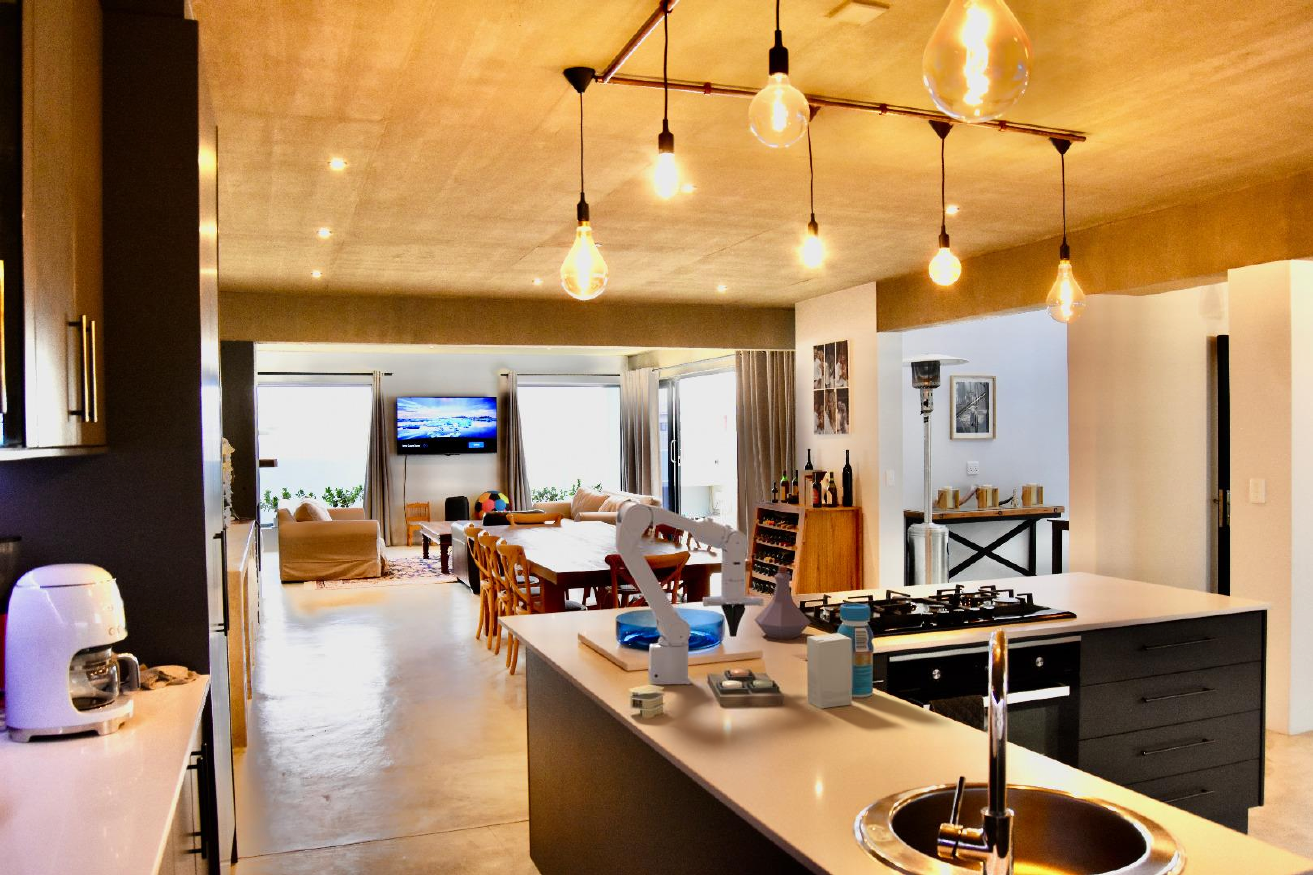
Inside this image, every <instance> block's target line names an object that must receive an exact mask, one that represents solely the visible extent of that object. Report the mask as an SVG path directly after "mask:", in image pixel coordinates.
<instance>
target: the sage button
mask: <svg viewBox="0 0 1313 875" xmlns="http://www.w3.org/2000/svg"><path fill="white" fill-rule="evenodd" d="M753 687H754V688H755V687H773V682H772V681H770V680H754V681H753Z"/></svg>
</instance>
